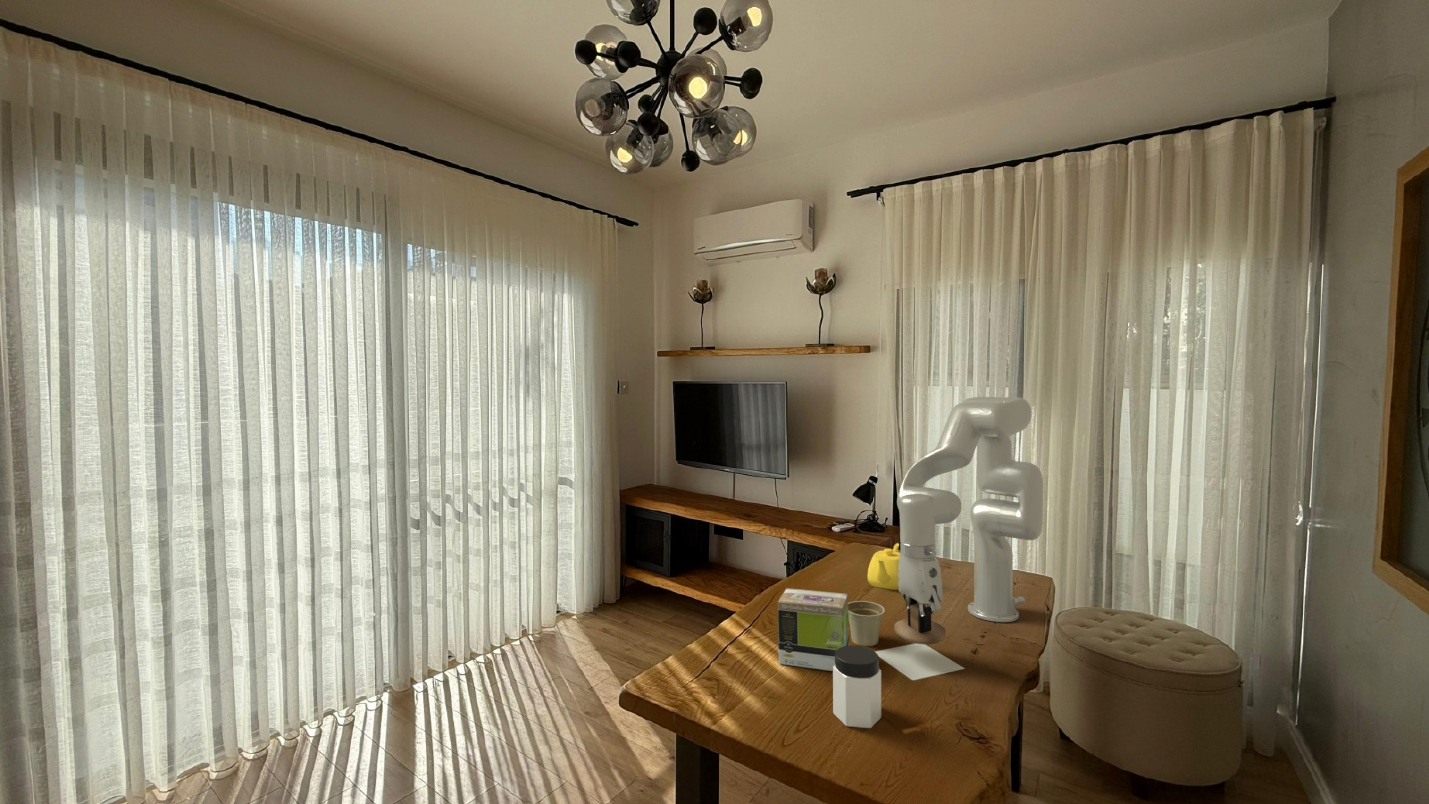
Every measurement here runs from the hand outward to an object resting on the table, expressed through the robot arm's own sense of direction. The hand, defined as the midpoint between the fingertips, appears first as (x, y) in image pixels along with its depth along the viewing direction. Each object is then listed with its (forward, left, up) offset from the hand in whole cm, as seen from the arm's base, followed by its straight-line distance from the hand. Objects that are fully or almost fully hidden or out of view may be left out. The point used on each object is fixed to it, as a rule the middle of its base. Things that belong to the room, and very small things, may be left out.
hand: (919, 627), depth 133 cm
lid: (0, 0, -1) cm, 1 cm away
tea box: (+22, -10, -8) cm, 25 cm away
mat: (+1, 0, -8) cm, 8 cm away
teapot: (-27, -45, -8) cm, 53 cm away
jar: (+26, +13, -8) cm, 30 cm away
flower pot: (+6, -13, -8) cm, 16 cm away
